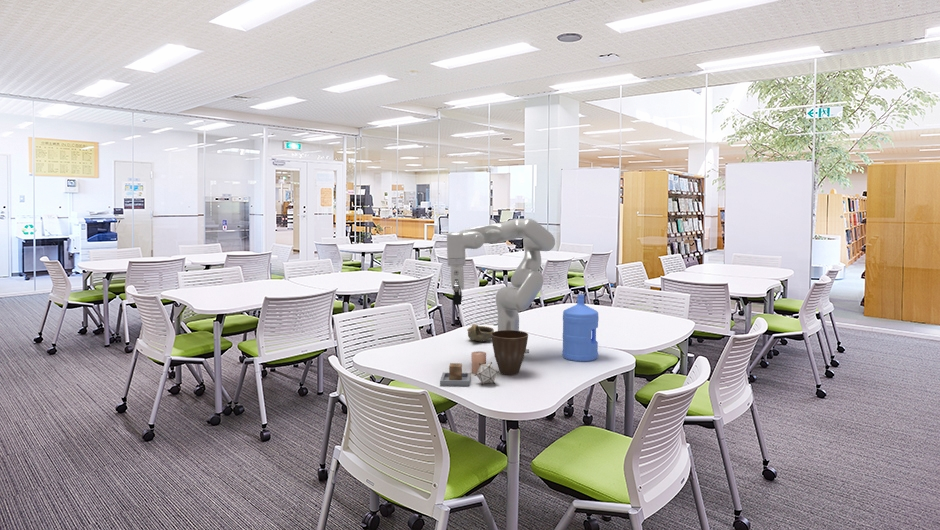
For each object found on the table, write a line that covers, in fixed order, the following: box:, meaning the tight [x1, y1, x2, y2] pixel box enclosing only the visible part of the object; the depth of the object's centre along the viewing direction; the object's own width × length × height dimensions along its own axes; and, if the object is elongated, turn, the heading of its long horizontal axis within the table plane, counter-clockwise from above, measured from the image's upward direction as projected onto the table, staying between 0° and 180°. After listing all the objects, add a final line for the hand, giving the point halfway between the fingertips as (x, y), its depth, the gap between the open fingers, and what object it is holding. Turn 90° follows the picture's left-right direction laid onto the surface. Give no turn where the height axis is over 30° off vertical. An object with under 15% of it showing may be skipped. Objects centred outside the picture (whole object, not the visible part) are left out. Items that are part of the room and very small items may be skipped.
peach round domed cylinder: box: [470, 350, 487, 375], centre depth 228 cm, size 6×6×8 cm
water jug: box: [561, 294, 599, 362], centre depth 250 cm, size 16×16×28 cm
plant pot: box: [491, 330, 529, 376], centre depth 227 cm, size 15×15×16 cm
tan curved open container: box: [466, 323, 495, 343], centre depth 283 cm, size 14×18×10 cm
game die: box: [474, 361, 500, 386], centre depth 213 cm, size 9×8×10 cm
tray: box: [439, 372, 472, 387], centre depth 216 cm, size 11×11×2 cm
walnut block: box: [448, 362, 463, 380], centre depth 216 cm, size 4×4×6 cm
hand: (457, 302), depth 235 cm, fingers open, 9 cm apart
